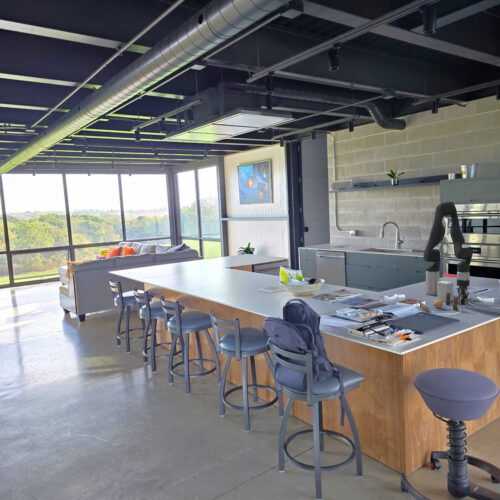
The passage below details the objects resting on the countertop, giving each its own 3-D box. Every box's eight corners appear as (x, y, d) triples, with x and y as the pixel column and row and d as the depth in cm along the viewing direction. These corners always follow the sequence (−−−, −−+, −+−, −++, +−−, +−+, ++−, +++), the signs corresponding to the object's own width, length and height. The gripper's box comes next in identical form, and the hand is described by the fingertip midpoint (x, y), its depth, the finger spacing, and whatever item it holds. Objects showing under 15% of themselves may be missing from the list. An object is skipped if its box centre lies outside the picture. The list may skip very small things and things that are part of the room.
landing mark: (423, 305, 288) (423, 304, 288) (443, 304, 287) (443, 304, 287) (430, 310, 275) (430, 310, 275) (451, 310, 274) (451, 309, 274)
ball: (433, 307, 283) (431, 299, 282) (442, 305, 282) (440, 297, 281) (435, 310, 277) (434, 302, 276) (444, 308, 276) (442, 300, 275)
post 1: (445, 304, 288) (445, 292, 287) (449, 304, 288) (449, 292, 287) (446, 305, 285) (446, 293, 284) (450, 305, 285) (450, 293, 284)
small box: (453, 301, 295) (453, 282, 294) (447, 302, 292) (447, 283, 291) (442, 298, 302) (443, 280, 301) (436, 300, 299) (437, 281, 298)
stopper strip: (416, 304, 292) (416, 300, 292) (419, 304, 292) (419, 300, 291) (425, 312, 272) (425, 308, 272) (428, 312, 272) (428, 308, 272)
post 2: (452, 309, 275) (452, 297, 274) (456, 309, 275) (456, 297, 274) (453, 310, 273) (454, 298, 272) (458, 310, 273) (458, 298, 272)
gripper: (453, 276, 284) (452, 302, 286) (461, 280, 271) (460, 307, 273) (465, 276, 283) (464, 302, 286) (473, 280, 270) (473, 307, 272)
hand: (462, 304), depth 279 cm, fingers closed
